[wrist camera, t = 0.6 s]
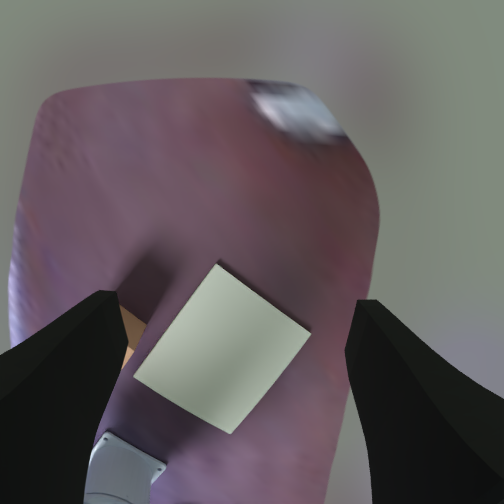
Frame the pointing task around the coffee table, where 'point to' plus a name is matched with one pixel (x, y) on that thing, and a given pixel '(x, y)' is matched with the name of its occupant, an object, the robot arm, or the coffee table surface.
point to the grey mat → (222, 351)
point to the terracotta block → (131, 331)
